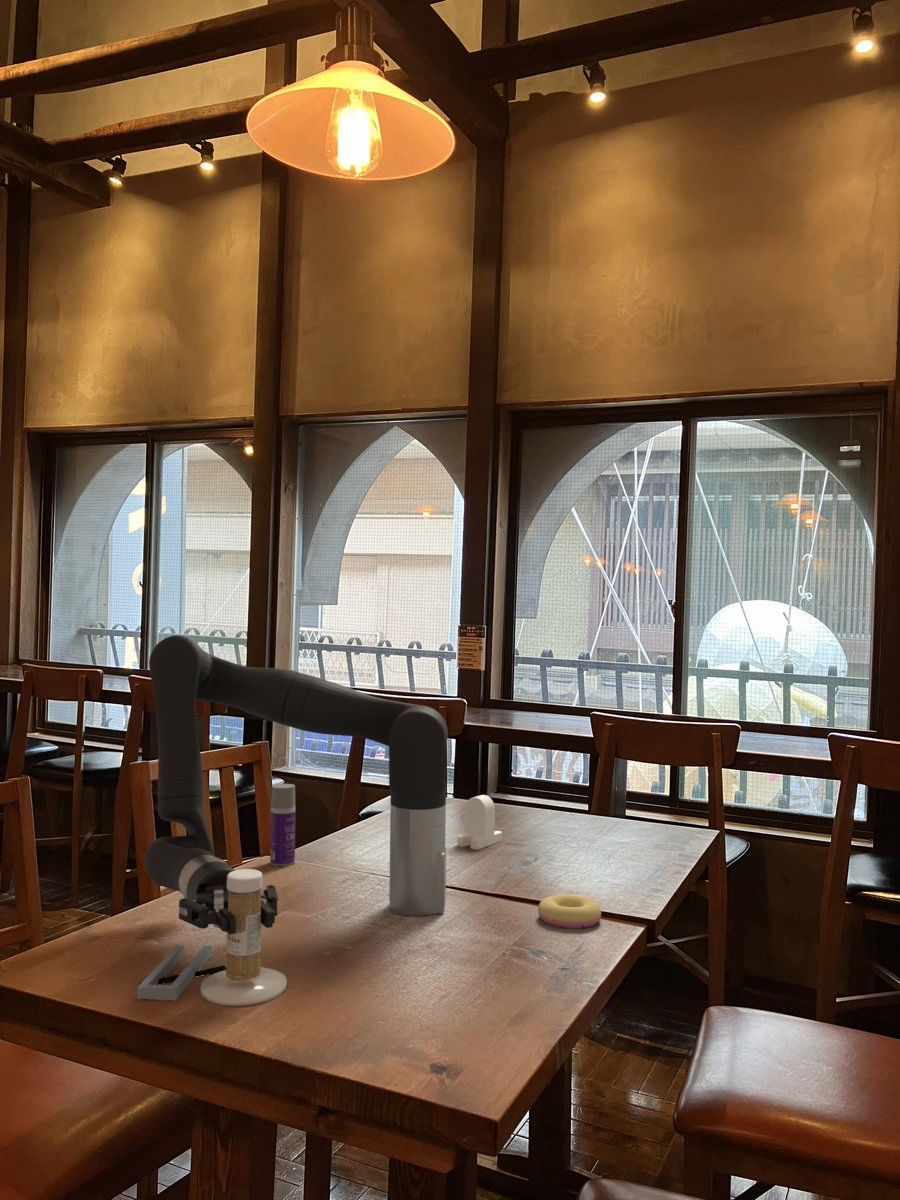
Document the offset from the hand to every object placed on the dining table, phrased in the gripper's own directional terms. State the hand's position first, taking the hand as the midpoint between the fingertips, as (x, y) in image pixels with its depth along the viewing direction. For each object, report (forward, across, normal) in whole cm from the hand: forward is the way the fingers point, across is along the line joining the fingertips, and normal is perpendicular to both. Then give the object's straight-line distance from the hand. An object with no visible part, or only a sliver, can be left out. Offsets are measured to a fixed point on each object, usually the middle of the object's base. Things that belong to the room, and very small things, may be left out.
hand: (251, 923), depth 120 cm
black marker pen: (-10, -6, +10) cm, 15 cm away
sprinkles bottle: (-3, 0, +8) cm, 8 cm away
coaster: (-3, 0, +9) cm, 10 cm away
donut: (-2, +54, +10) cm, 55 cm away
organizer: (-50, +68, +10) cm, 85 cm away
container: (-55, +26, +10) cm, 62 cm away
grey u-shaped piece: (-11, -6, +9) cm, 16 cm away
